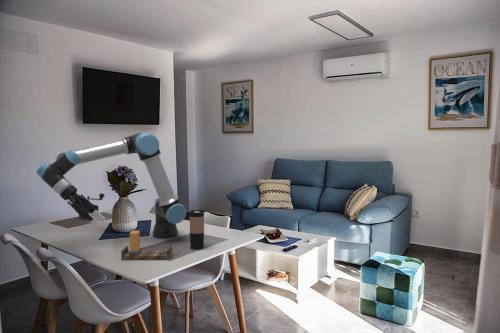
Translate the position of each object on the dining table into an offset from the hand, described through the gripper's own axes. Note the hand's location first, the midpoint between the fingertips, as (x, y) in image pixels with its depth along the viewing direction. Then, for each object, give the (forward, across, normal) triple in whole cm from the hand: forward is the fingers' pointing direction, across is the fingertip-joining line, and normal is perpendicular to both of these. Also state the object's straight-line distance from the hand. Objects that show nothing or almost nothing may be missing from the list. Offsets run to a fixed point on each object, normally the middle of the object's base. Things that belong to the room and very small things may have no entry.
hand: (100, 222), depth 178 cm
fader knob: (+22, 0, +1) cm, 22 cm away
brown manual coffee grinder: (-15, -91, -40) cm, 100 cm away
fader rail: (+28, 0, +4) cm, 29 cm away
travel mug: (+45, -16, +20) cm, 51 cm away
